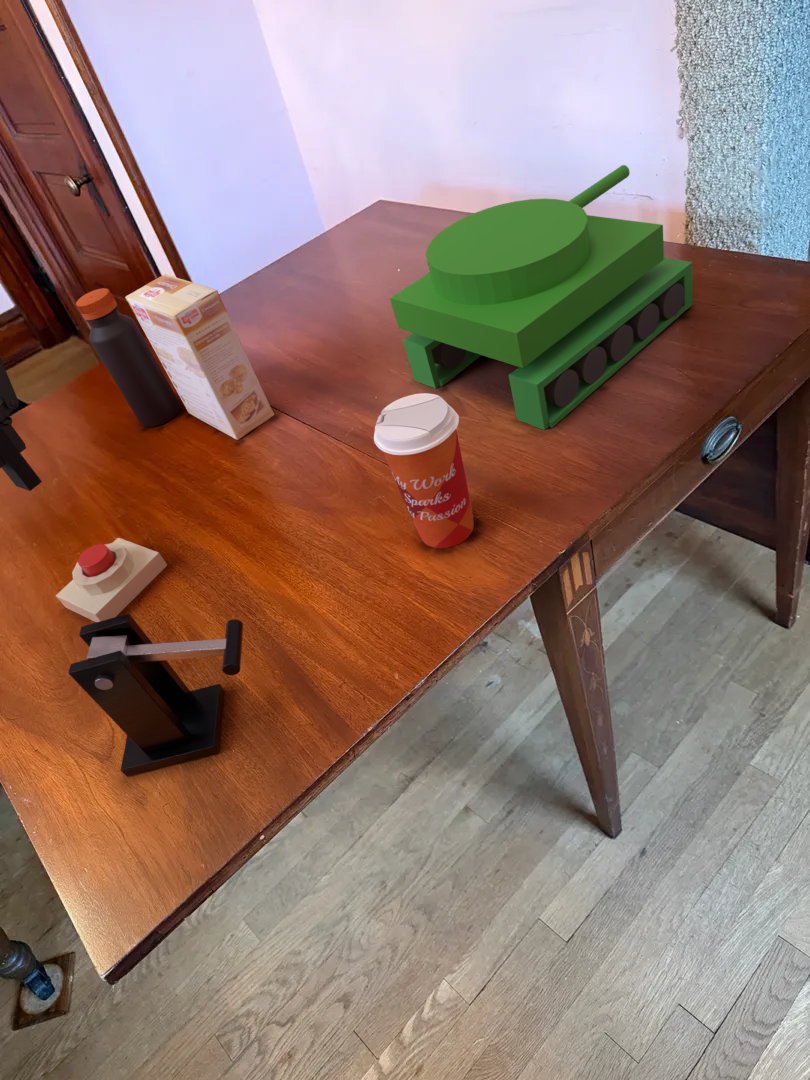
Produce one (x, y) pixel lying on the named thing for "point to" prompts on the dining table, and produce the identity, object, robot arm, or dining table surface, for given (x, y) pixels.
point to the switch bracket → (149, 702)
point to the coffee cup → (427, 466)
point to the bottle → (128, 359)
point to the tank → (542, 299)
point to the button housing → (112, 582)
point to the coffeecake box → (201, 353)
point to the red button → (96, 560)
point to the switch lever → (177, 648)
